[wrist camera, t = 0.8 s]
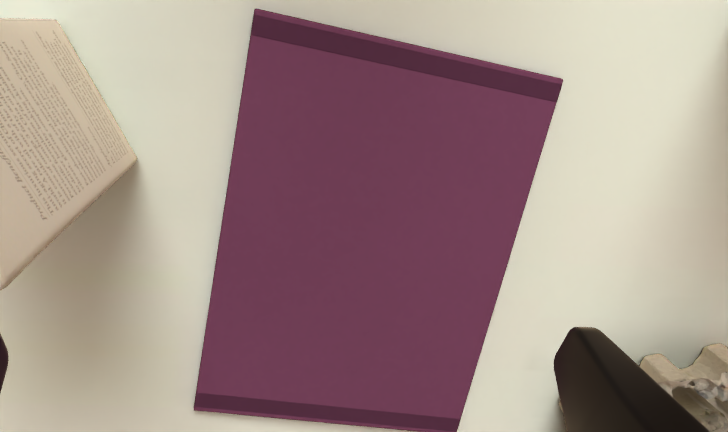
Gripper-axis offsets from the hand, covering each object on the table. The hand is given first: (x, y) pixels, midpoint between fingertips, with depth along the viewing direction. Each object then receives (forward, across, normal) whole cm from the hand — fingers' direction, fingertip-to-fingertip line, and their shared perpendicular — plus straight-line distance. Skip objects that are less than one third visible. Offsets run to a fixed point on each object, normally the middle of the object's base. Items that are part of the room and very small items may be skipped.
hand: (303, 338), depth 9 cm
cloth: (+13, -4, +10) cm, 17 cm away
